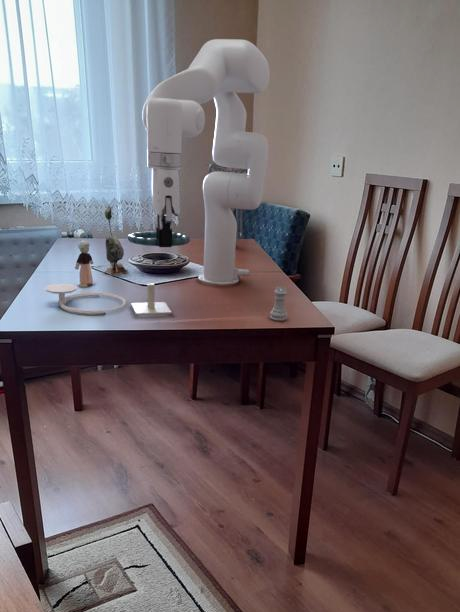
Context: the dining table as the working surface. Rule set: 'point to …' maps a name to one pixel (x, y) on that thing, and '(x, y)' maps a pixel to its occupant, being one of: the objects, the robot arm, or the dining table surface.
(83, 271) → the grandmother figurine
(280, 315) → the rook chess piece
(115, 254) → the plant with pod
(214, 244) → the robot arm
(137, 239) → the ring
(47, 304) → the dining table surface
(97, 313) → the hand towel holder
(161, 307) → the post
